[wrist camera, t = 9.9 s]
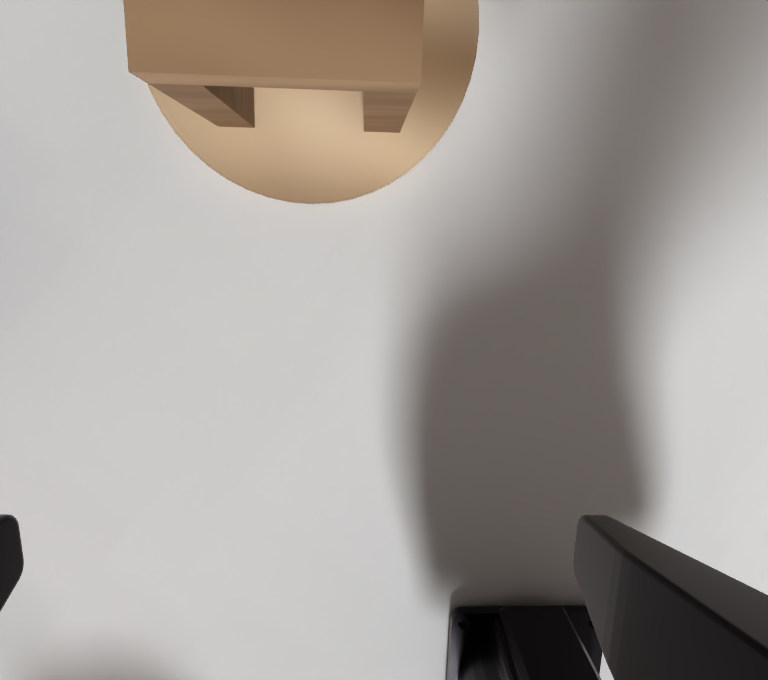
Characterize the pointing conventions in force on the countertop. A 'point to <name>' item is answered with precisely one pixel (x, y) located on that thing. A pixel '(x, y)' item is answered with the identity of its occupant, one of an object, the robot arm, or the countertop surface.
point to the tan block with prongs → (278, 53)
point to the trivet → (338, 124)
